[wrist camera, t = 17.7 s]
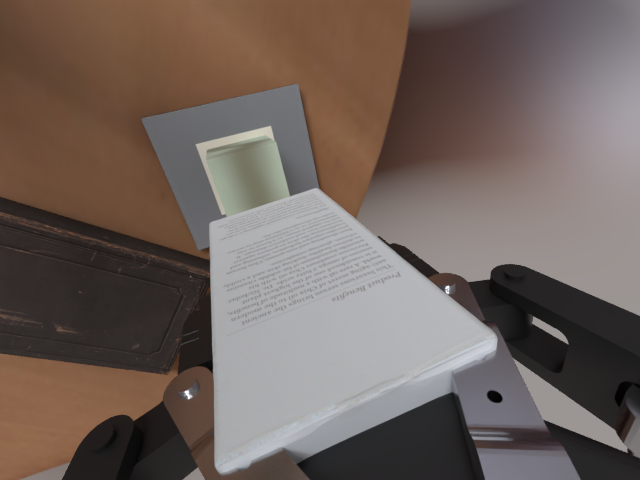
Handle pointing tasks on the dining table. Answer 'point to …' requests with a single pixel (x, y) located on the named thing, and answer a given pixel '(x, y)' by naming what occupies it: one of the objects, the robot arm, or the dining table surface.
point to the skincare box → (322, 331)
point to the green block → (247, 174)
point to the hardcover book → (92, 292)
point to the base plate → (222, 129)
